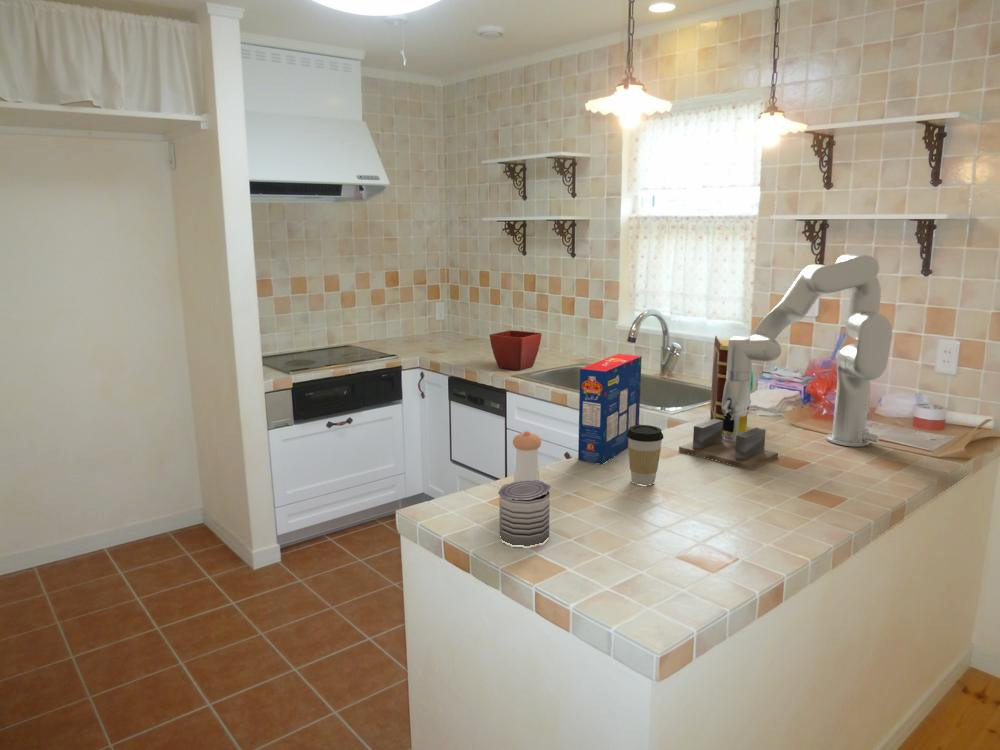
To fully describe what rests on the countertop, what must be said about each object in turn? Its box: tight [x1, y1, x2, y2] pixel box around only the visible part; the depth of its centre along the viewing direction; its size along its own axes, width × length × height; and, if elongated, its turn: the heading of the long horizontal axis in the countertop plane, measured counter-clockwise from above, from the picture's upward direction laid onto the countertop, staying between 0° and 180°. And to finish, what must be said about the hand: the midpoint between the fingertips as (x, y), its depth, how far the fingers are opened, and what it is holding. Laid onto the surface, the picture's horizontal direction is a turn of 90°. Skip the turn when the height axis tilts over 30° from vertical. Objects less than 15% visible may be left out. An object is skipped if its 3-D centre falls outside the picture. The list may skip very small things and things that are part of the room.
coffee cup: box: [626, 424, 664, 485], centre depth 190 cm, size 10×10×15 cm
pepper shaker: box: [512, 430, 542, 482], centre depth 175 cm, size 7×7×19 cm
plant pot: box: [489, 330, 543, 371], centre depth 345 cm, size 19×19×17 cm
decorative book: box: [709, 335, 738, 435], centre depth 242 cm, size 22×8×30 cm, turn 168°
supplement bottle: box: [723, 405, 748, 443], centre depth 227 cm, size 7×7×13 cm
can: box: [497, 479, 552, 546], centre depth 157 cm, size 11×11×12 cm
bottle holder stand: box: [678, 419, 779, 471], centre depth 213 cm, size 24×16×8 cm, turn 43°
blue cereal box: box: [577, 353, 643, 465], centre depth 217 cm, size 28×8×28 cm, turn 148°
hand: (735, 428), depth 228 cm, fingers open, 7 cm apart
